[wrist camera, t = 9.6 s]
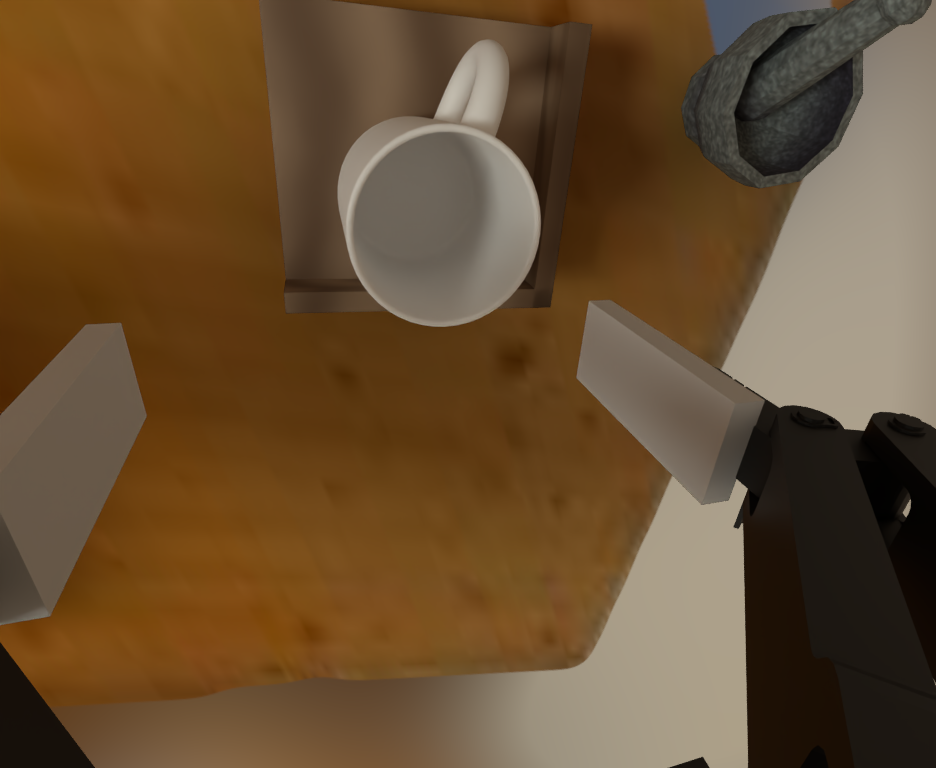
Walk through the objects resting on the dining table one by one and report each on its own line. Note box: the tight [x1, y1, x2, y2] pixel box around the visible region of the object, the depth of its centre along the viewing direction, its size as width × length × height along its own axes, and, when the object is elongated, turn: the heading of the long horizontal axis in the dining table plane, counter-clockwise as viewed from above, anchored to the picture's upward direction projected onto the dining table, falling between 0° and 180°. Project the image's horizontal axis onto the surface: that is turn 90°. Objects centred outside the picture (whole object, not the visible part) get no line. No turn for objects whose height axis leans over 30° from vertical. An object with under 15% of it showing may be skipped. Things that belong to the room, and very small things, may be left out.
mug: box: [338, 39, 541, 327], centre depth 25 cm, size 12×8×10 cm
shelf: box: [259, 0, 592, 313], centre depth 31 cm, size 16×15×8 cm
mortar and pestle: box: [681, 0, 932, 188], centre depth 32 cm, size 11×9×12 cm
